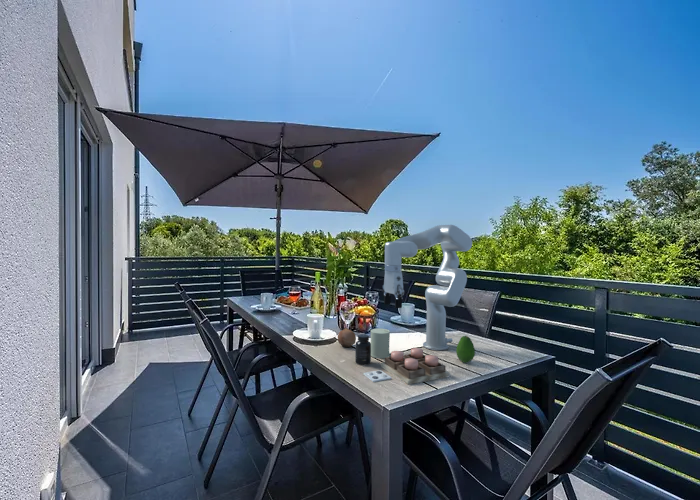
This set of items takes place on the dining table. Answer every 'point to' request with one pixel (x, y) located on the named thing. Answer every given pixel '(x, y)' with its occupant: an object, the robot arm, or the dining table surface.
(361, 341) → the supplement bottle
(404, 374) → the board
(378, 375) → the tile
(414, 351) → the button
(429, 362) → the button
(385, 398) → the dining table surface
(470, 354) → the avocado
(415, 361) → the button
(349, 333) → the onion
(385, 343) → the can
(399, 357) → the button
